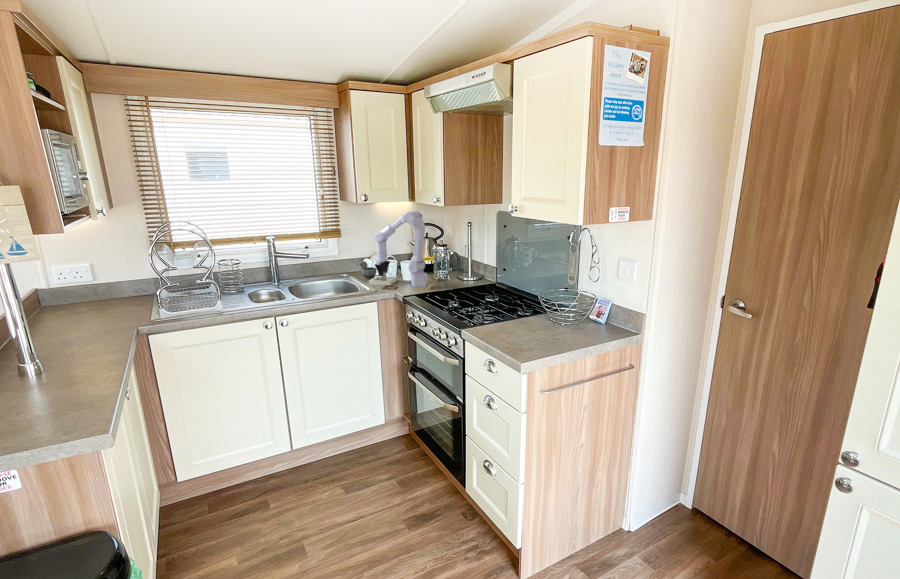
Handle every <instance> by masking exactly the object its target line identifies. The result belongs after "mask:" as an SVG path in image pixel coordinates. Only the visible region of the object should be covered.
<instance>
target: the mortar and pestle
mask: <svg viewBox="0 0 900 579" xmlns="http://www.w3.org/2000/svg"><path fill="white" fill-rule="evenodd" d="M358 266H360V267H361V269H360V270H361V274H362V276H363V277H364V280H365V281H369V280H371V279H373V278H375V277H376V276H377V273H378V270H377V268H376V267H373V266H372V267H367V266H366V265H365V264H364V261H361V260H360V262H358Z"/></svg>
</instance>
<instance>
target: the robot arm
mask: <svg viewBox="0 0 900 579" xmlns="http://www.w3.org/2000/svg"><path fill="white" fill-rule="evenodd" d="M405 223H407V224H409V226H412V227H413V228H414V237H413V238H414V239H413V240H414V241H413V253H412V257H411V259H410V263H409V264H408V270H409V272H410V279H411V285H410V286H411V287H415V288H419V287H420V288H421V287H422V288H423V289H424V290H426V289H427V288H428V287H429V280H428V276H429V275H428V273H427V272H424V270H425V268H426V264H425V263H426V262H425V257H423V254H424V243H425V231H426V230H425V229H426V225H425V222H424V218H423V214H422V213H421V212H420V211H419V210H414V211H407V212H406V213H403V214H402V216H400V217H399V218H398V219H397V220H396V221H394V223H392V224H386V225H385V227H384V228H382V229H380V231H378V232H375V234H374V236H373V238H374V241H375V242H376V254H377V255H376V256H377V257H376V259H375V261H376V262H375V264H374V266H375V267H374V268H377V274H378V276H383V272H386V274H387V273H388V270H389V265H390V263H391V261H390V260H389V257H388V254H387V252H388V251H387V250H388V249H387V240H388V239H389V237H391V236H393V235H394V234H395V233H396V231H397V229H399V227H401V226H402V225H404V224H405Z"/></svg>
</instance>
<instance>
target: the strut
mask: <svg viewBox="0 0 900 579" xmlns="http://www.w3.org/2000/svg"><path fill="white" fill-rule="evenodd" d="M386 276H387V273H386V272H383V276H381V280H380V281H387V280H386Z"/></svg>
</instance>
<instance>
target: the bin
mask: <svg viewBox="0 0 900 579" xmlns="http://www.w3.org/2000/svg"><path fill="white" fill-rule="evenodd" d="M386 280H387V281H381V276H379V275H375V276H374V278H373V279H371V280H368V285H370V286H371V285H372V286H373V285H376V286H377V285H378V286H385V285H394V283H395V282H397V281H398V276H387V275H386Z"/></svg>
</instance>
